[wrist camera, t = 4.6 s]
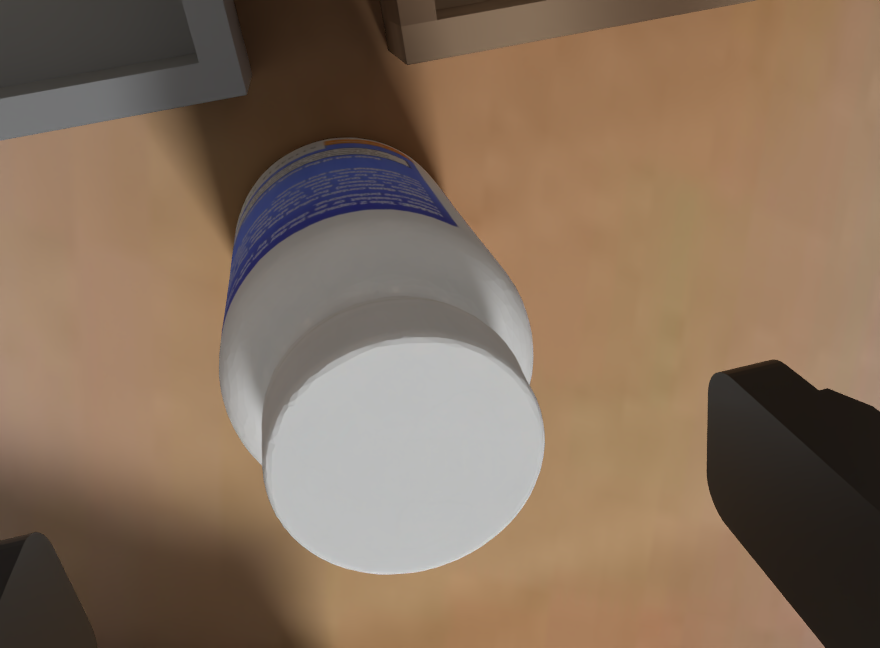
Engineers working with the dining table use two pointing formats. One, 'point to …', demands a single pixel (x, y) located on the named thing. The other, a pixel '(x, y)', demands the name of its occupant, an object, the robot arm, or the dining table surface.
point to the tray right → (510, 22)
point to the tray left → (114, 60)
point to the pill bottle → (377, 362)
